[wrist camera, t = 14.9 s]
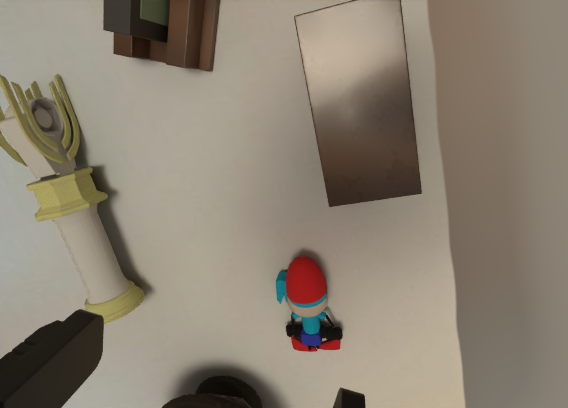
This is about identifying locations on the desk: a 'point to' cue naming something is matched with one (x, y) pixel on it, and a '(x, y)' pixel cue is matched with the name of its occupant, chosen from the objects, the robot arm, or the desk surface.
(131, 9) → the frame
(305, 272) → the toy figure
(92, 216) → the trophy
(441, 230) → the desk surface
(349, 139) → the block
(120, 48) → the holder
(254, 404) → the pot
